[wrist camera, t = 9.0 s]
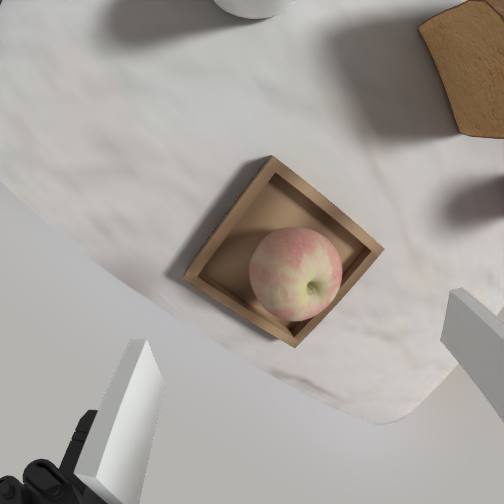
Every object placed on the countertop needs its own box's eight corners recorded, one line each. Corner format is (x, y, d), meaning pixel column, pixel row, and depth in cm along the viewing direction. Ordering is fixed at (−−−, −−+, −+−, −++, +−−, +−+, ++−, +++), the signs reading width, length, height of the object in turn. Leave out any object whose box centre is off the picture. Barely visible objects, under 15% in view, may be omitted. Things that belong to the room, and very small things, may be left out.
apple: (297, 304, 32) (311, 350, 25) (233, 269, 31) (230, 311, 23) (341, 241, 30) (371, 274, 22) (277, 200, 28) (289, 222, 21)
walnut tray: (186, 268, 31) (182, 278, 29) (270, 155, 28) (273, 156, 26) (291, 335, 35) (294, 348, 32) (375, 241, 31) (384, 248, 29)
